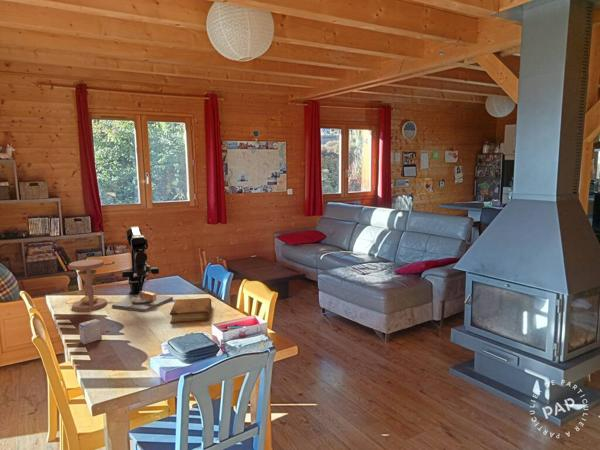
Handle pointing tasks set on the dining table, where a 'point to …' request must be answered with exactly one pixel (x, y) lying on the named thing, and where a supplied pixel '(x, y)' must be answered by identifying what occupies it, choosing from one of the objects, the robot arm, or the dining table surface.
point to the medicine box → (90, 331)
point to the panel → (143, 306)
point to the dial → (144, 297)
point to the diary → (191, 310)
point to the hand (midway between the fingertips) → (141, 287)
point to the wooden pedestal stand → (88, 285)
